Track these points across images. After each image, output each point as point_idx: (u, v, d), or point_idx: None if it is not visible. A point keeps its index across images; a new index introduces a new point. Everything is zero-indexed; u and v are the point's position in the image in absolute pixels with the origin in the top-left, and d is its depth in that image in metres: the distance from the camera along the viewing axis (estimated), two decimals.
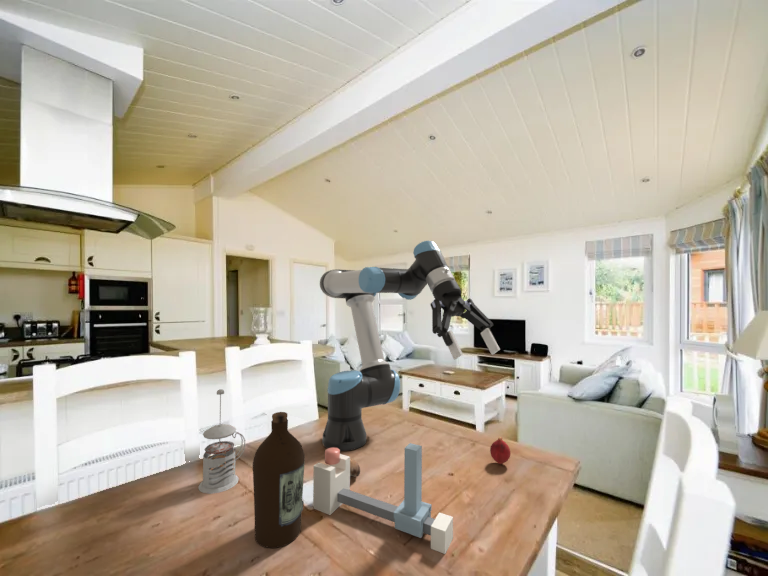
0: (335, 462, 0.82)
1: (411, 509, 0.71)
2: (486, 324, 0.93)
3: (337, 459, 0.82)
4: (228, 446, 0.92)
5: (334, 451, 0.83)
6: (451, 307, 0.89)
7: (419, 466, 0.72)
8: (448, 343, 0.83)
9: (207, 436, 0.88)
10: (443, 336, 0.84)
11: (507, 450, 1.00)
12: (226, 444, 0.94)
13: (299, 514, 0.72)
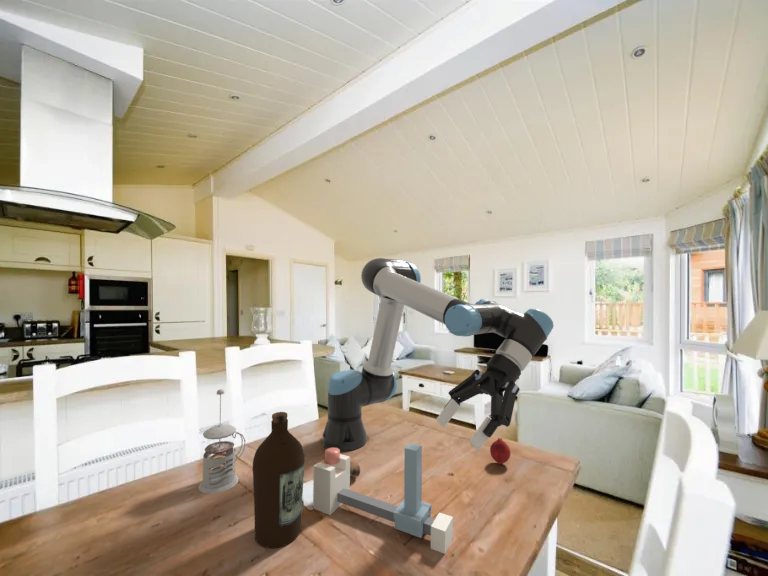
0: (335, 462, 0.82)
1: (411, 509, 0.71)
2: None
3: (337, 459, 0.82)
4: (228, 446, 0.92)
5: (334, 451, 0.83)
6: None
7: (419, 466, 0.72)
8: (488, 435, 0.70)
9: (207, 436, 0.88)
10: (494, 425, 0.71)
11: (507, 450, 1.00)
12: (226, 444, 0.94)
13: (299, 514, 0.72)
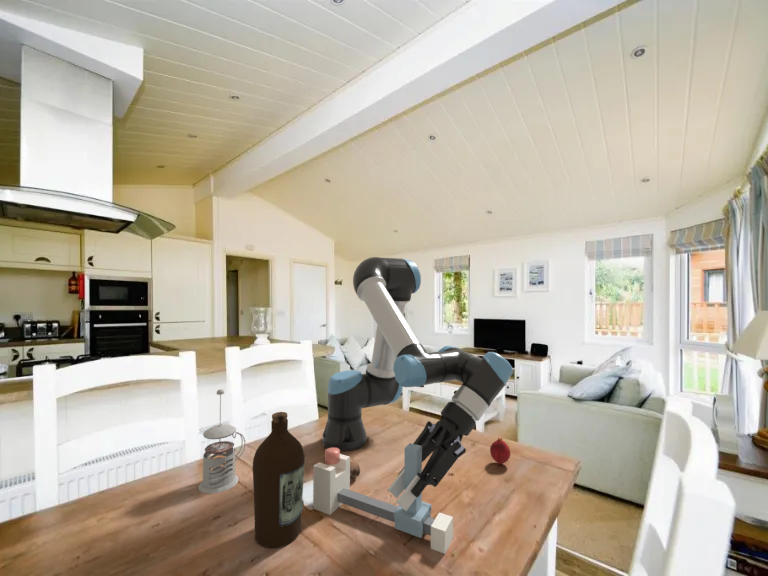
0: (335, 462, 0.82)
1: (411, 509, 0.71)
2: None
3: (337, 459, 0.82)
4: (228, 446, 0.92)
5: (334, 451, 0.83)
6: None
7: (419, 466, 0.72)
8: (416, 495, 0.69)
9: (207, 436, 0.88)
10: (422, 485, 0.69)
11: (507, 450, 1.00)
12: (226, 444, 0.94)
13: (299, 514, 0.72)
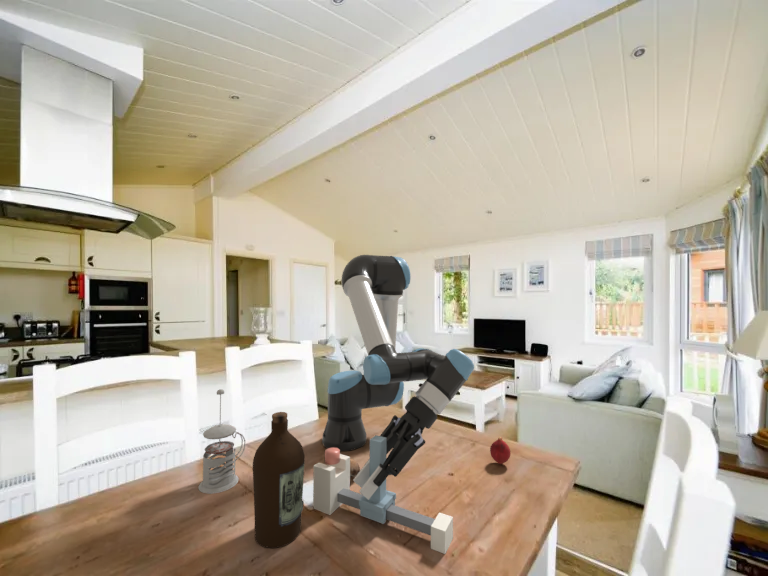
0: (335, 462, 0.82)
1: (375, 497, 0.76)
2: None
3: (337, 459, 0.82)
4: (228, 446, 0.92)
5: (334, 451, 0.83)
6: None
7: (383, 456, 0.77)
8: (378, 485, 0.73)
9: (207, 436, 0.88)
10: (383, 475, 0.73)
11: (507, 450, 1.00)
12: (226, 444, 0.94)
13: (299, 514, 0.72)
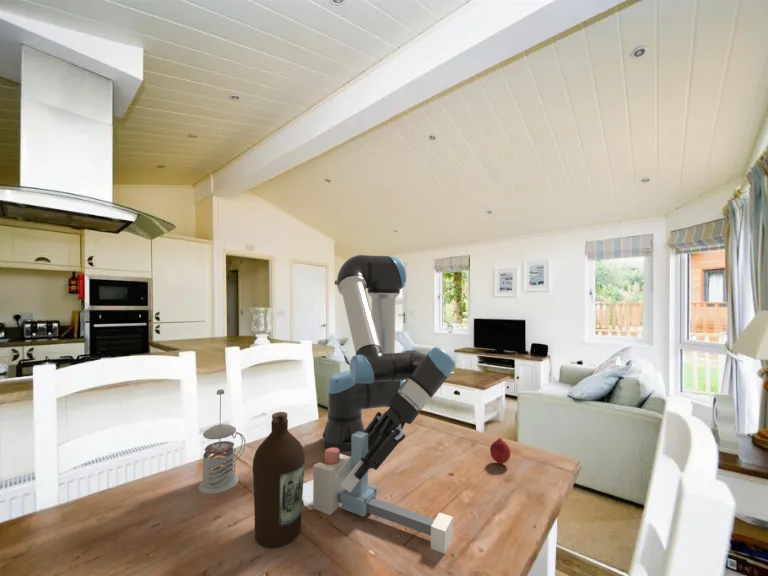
0: (335, 462, 0.82)
1: (357, 491, 0.78)
2: None
3: (337, 459, 0.82)
4: (228, 446, 0.92)
5: (334, 451, 0.83)
6: None
7: (365, 452, 0.79)
8: (359, 478, 0.76)
9: (207, 436, 0.88)
10: (364, 468, 0.76)
11: (507, 450, 1.00)
12: (226, 444, 0.94)
13: (299, 514, 0.72)
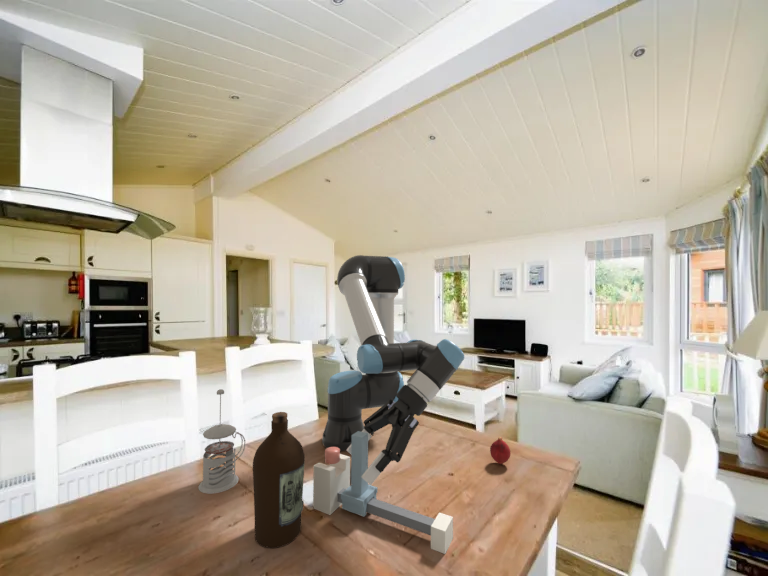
0: (335, 461, 0.82)
1: (357, 491, 0.78)
2: None
3: (337, 458, 0.82)
4: (228, 446, 0.92)
5: (334, 451, 0.83)
6: None
7: (365, 452, 0.79)
8: (380, 470, 0.72)
9: (207, 436, 0.88)
10: (386, 461, 0.73)
11: (507, 450, 1.00)
12: (226, 444, 0.94)
13: (299, 514, 0.72)
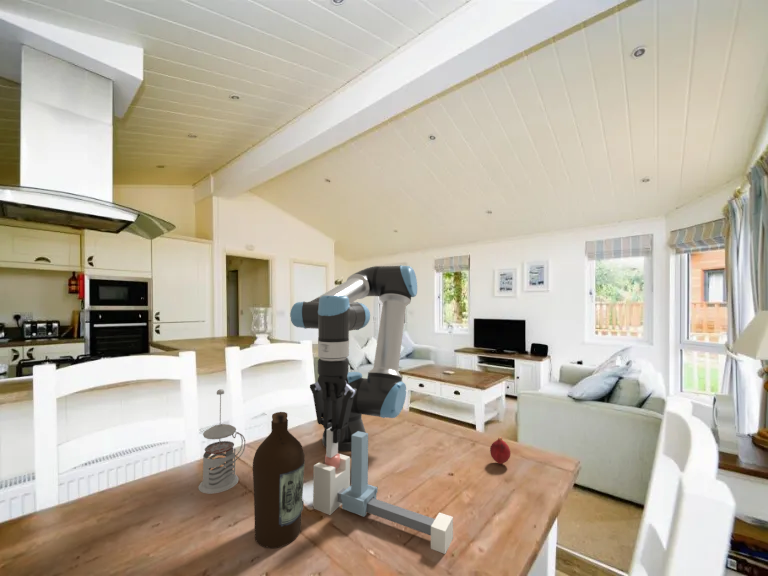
0: (335, 467, 0.82)
1: (357, 491, 0.78)
2: (334, 425, 0.82)
3: (337, 464, 0.82)
4: (228, 446, 0.92)
5: (334, 456, 0.83)
6: (323, 395, 0.83)
7: (365, 452, 0.79)
8: None
9: (207, 436, 0.88)
10: None
11: (507, 450, 1.00)
12: (226, 444, 0.94)
13: (299, 514, 0.72)
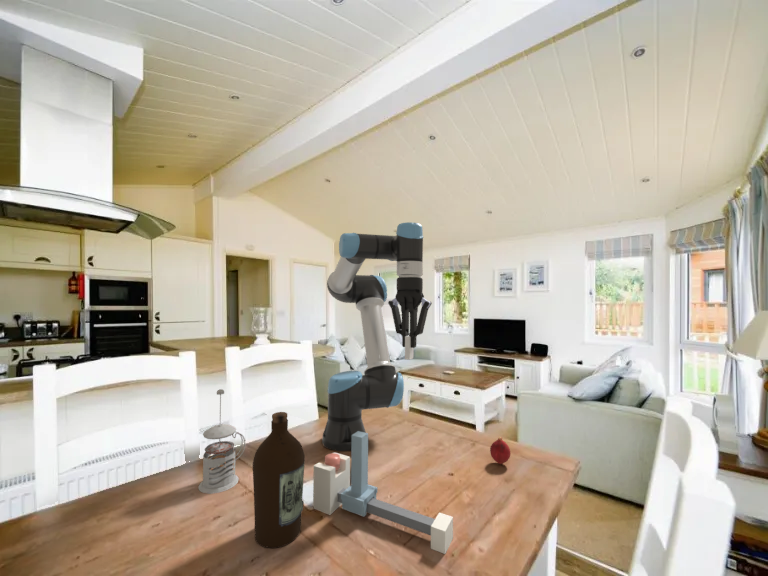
0: (335, 468, 0.82)
1: (357, 491, 0.78)
2: (412, 332, 0.96)
3: (337, 465, 0.82)
4: (228, 446, 0.92)
5: (334, 457, 0.83)
6: (402, 307, 0.97)
7: (365, 452, 0.79)
8: None
9: (207, 436, 0.88)
10: None
11: (507, 450, 1.00)
12: (226, 444, 0.94)
13: (299, 514, 0.72)
